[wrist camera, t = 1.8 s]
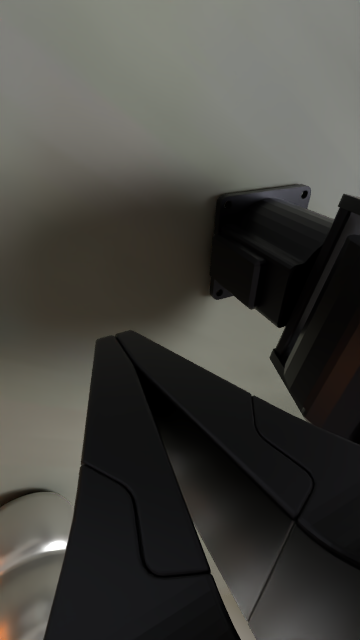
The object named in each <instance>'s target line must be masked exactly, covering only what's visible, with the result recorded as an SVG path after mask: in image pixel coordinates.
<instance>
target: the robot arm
mask: <svg viewBox="0 0 360 640" xmlns="http://www.w3.org/2000/svg"><path fill="white" fill-rule="evenodd" d="M302 192H303V194H302ZM301 195H302V196H301ZM310 195H311V189H310V187H309V186H306V185H302V184H301V185H293V186H285V187H278V188H270V189H262V190H254V191H246V192H238V193H230V194H224V195H222V196H221V197H219V199H218V201H217V204H216V216H215V229H214V236H213V239H212V252H211V266H210V276H211V281H210V295H211V296H212V297H213V298H214V299H216V300H219V299H223V298H227V297H230V296H235V297H236V298H237V299H238V300H239V301H241V302H242V303H243V304H244V305H245V306H247V307H248V308H249V309H256V310H257V311H258V312H260V313H261V314H262V315H263V316H265V317H266V318H267V319H268V320H270V321H271V322H272V323H273V324H274V325H276V326H277V327H278V328H281V327H284V326H286V327H285V329H284V331H283V333H282V335H281V338H280V340H279V342H278V344H277V346H276V348H274V349H273V351H272V353H271V355H270V360H271V361H272V363H273V365H274V367H275V368H276V370H277V372H278V374H279V375H280V377H281V379H282V380H283V382H284V384H285V386H286V387H287V389H288V391H289V393H290V394H291V396H292V398H293V399H294V401H295V403H296V405H297V406H298V408H299V410H300V412H301V413H302V415H303V417H304V418H305V420H306V421H307V422H306V421H304V420H302V419H300V418H297V417H295V416H293V415H291V414H289V413H287V412H285V411H283V410H281V409H279V408H277V407H275V406H273V405H271V404H269V403H268V402H266V401H264V400H262V399H260V398H258V397H256V396H251V394H250V393H249V392H247V391H245V390H243V389H241V388H239V387H237V386H236V385H234V384H232V383H230V382H228V381H226V380H224V379H222V378H221V377H219V376H217V375H215V374H213V373H211V372H209V371H207V370H206V369H204V368H202V367H200V366H198V365H196V364H194V363H193V362H191V361H189V360H187V359H185V358H183V357H181V356H179V355H178V354H176V353H174V352H172V351H170V350H168V349H166V348H165V347H163V346H161V345H159V344H157V343H155V342H153V341H151V340H150V339H148V338H146V337H144V336H142V335H140V334H138V333H137V332H135V331H132V330H129V331H125V332H122V333H118V334H116V335H115V336H112V335H111V336H107V337H103V338H100V339H97V340H96V345H95V353H94V361H93V369H92V377H91V385H90V393H89V401H88V409H87V417H86V425H85V433H84V442H83V450H82V458H81V467H80V472H79V480H78V487H77V494H76V500H75V506H74V512H73V519H72V524H71V528H70V533H69V537H68V542H67V546H66V551H65V555H64V560H63V564H62V568H61V572H60V576H59V580H58V583H57V587H56V591H55V595H54V599H53V603H52V607H51V611H50V615H49V619H48V623H47V627H46V631H45V634H44V638H43V640H241V639H240V637H239V635H238V633H237V631H236V629H235V628H234V625H233V623H232V621H231V619H230V617H229V614H228V612H227V610H226V608H225V605H224V603H223V601H222V598H221V596H220V593H219V591H218V588H217V586H216V583H215V581H214V578H213V576H212V575H211V574H210V573H211V570H210V567H209V564H208V561H207V559H206V556H205V553H204V551H203V548H202V545H201V543H200V540H199V537H198V535H197V532H196V529H195V527H196V528H197V530H198V532H199V534H200V536H201V538H202V540H203V541H204V543H205V545H206V547H207V549H208V551H209V553H210V554H211V556H212V558H213V560H214V562H215V564H216V566H217V567H218V569H219V571H220V573H221V575H222V577H223V579H224V580H225V582H226V584H227V586H228V588H229V590H230V592H231V593H232V595H233V597H234V599H235V601H236V603H237V604H238V606H239V608H240V610H241V612H242V614H243V615H244V617H245V619H246V621H248V625H249V627H250V629H251V631H252V633H253V634H254V636H255V638H256V640H360V197H355V196H351V195H347V194H343V196H342V198H341V201H340V203H339V205H338V207H340V208H339V210H338V212H337V215H336V217H335V219H332V218H329V217H327V216H324V215H321V214H319V213H316V212H314V211H311V210H308V209H307V207H308V203H309V199H310ZM227 201H228V205H227V206H226V208H224V205H225V203H226V202H227ZM218 290H219V292H218V293H217V291H218ZM193 523H194V524H193ZM194 525H195V527H194Z"/></svg>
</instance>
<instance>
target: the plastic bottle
mask: <svg viewBox="0 0 360 640" xmlns="http://www.w3.org/2000/svg"><path fill="white" fill-rule="evenodd" d="M73 512H74V508H73V506H72V504H71V503H70V502H69V501H68V500H67V499H65V498H64V497H63V496H61V495H60V494H57V493H54V492H38V493H32V494H28V495H25V496H22V497H19V498H17V499H14V500H12V501H10V502H8V503H6V504H5V505H3V506H1V507H0V640H43V638H44V634H45V631H46V627H47V623H48V619H49V615H50V611H51V607H52V603H53V599H54V595H55V591H56V587H57V583H58V580H59V576H60V572H61V568H62V564H63V560H64V555H65V551H66V546H67V542H68V537H69V533H70V528H71V524H72V519H73Z"/></svg>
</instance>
